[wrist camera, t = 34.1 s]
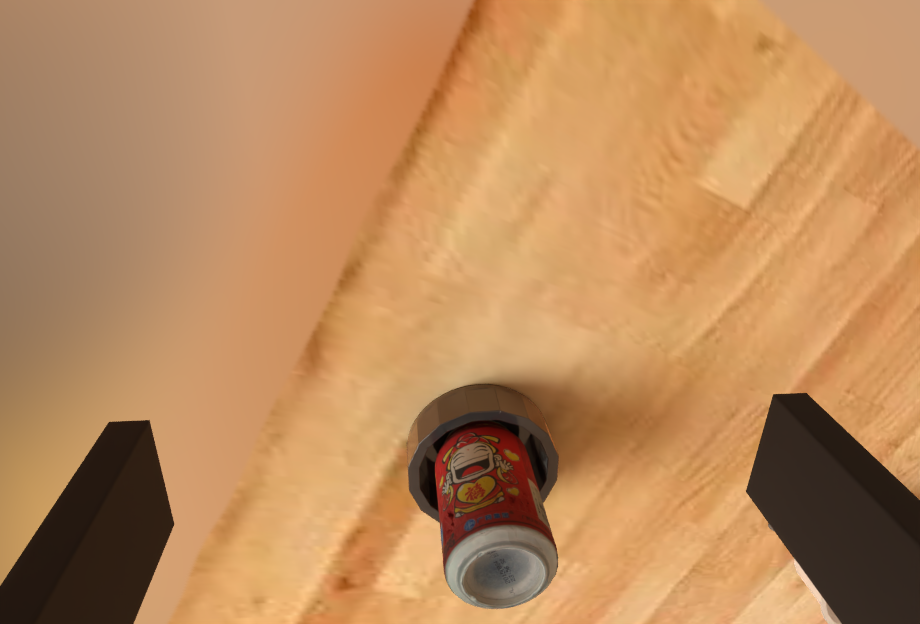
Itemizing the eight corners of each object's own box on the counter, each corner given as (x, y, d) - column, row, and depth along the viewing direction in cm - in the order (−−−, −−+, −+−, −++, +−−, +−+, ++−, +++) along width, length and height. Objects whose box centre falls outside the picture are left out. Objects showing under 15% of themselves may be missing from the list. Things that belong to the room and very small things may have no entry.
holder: (382, 418, 47) (382, 448, 44) (518, 362, 46) (528, 388, 43) (441, 516, 52) (445, 549, 49) (566, 467, 51) (577, 497, 48)
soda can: (495, 395, 47) (528, 517, 36) (539, 457, 50) (581, 587, 39) (414, 439, 48) (422, 571, 37) (462, 498, 51) (482, 635, 40)
